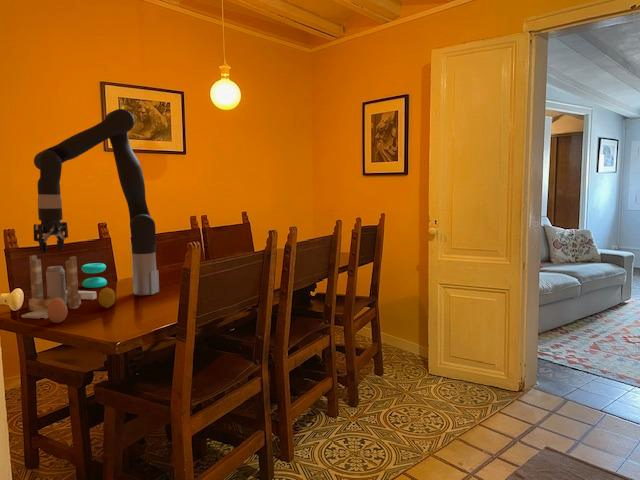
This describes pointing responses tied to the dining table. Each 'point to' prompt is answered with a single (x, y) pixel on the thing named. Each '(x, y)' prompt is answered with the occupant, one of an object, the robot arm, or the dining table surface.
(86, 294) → the bar
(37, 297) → the cradle
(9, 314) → the dining table surface
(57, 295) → the energy drink can
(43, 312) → the coaster
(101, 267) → the donuts
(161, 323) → the dining table surface
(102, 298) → the lemon
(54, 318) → the egg
